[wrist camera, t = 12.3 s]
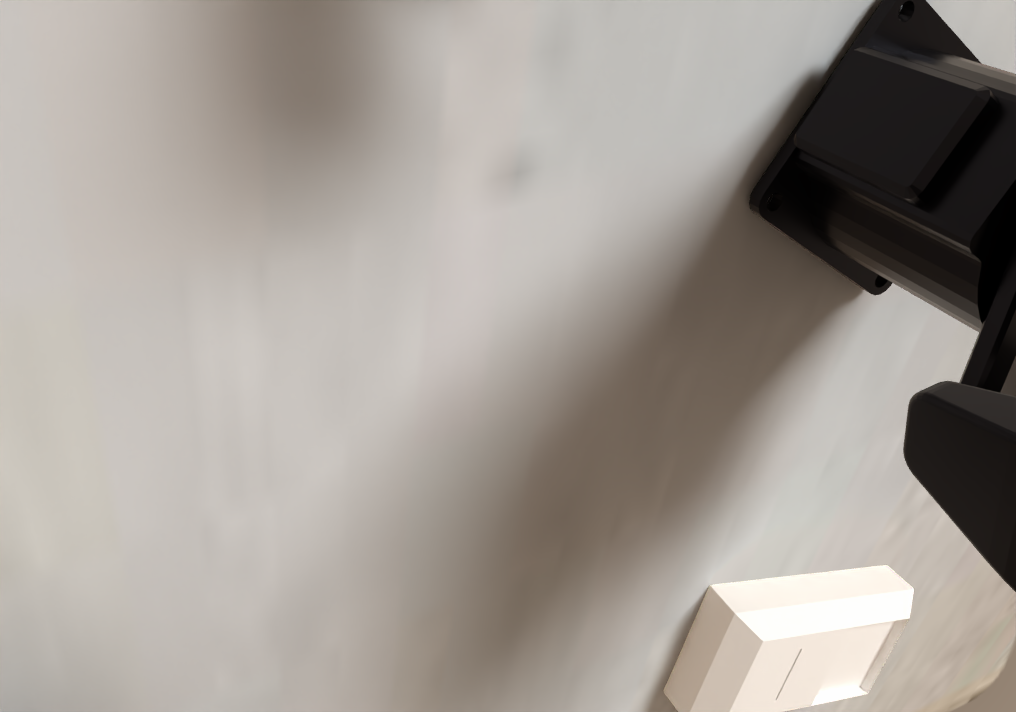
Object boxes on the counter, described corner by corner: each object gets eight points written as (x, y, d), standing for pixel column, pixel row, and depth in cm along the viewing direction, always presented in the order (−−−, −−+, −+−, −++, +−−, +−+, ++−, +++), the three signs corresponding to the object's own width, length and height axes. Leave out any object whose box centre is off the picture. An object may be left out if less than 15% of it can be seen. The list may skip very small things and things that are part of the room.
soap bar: (703, 578, 34) (750, 630, 31) (879, 558, 38) (931, 604, 36) (657, 683, 35) (699, 740, 33) (830, 653, 40) (876, 701, 38)
